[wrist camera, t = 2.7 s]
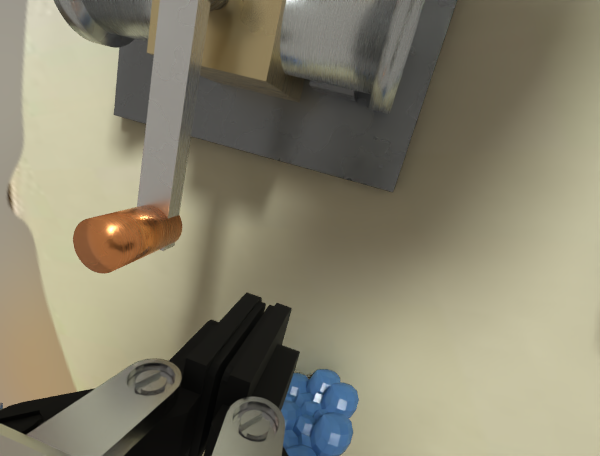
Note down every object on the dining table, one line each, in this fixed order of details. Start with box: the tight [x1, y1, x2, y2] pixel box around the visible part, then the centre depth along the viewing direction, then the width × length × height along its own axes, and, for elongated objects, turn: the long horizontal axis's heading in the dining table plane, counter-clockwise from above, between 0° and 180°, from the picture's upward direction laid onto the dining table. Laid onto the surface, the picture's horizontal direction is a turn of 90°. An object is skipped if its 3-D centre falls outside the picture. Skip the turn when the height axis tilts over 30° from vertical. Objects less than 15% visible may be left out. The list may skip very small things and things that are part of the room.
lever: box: [73, 0, 225, 273], centre depth 14 cm, size 15×3×5 cm, turn 166°
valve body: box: [54, 0, 457, 192], centre depth 20 cm, size 16×24×10 cm, turn 76°
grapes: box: [281, 369, 359, 456], centre depth 25 cm, size 12×7×12 cm, turn 111°
